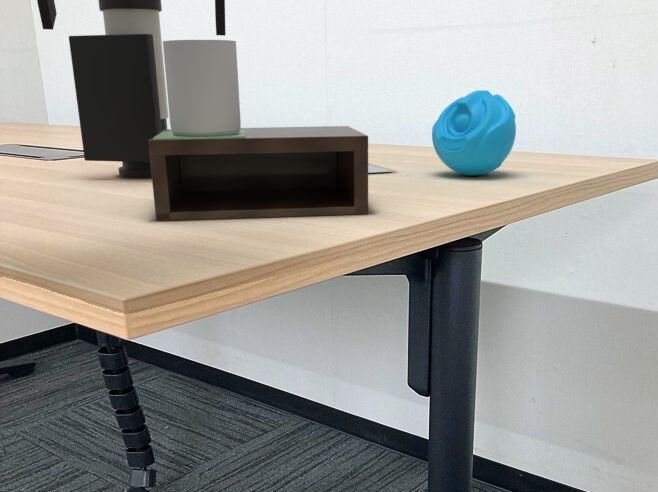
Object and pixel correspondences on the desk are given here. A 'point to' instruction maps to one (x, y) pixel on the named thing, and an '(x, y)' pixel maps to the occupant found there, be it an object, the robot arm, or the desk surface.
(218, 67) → the cup
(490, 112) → the blue rounded piece
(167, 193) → the shelf
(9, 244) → the desk surface
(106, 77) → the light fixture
